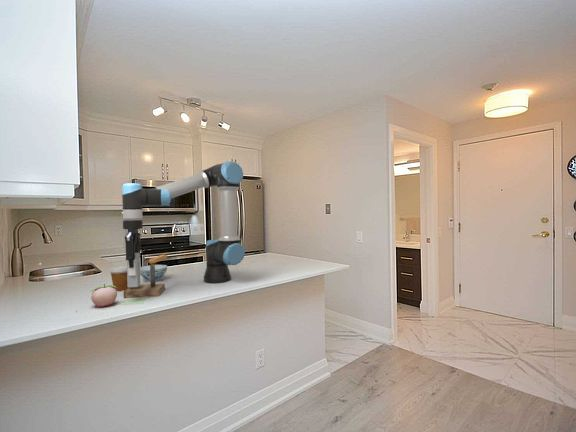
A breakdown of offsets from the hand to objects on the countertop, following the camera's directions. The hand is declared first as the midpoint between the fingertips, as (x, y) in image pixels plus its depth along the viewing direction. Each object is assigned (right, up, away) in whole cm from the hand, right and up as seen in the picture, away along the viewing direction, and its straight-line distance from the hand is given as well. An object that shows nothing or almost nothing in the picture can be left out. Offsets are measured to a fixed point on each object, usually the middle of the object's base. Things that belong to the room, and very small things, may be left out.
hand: (133, 274), depth 131 cm
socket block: (-1, -13, +12) cm, 18 cm away
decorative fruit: (-9, -13, -5) cm, 17 cm away
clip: (+2, +3, +19) cm, 19 cm away
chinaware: (-11, -12, +43) cm, 46 cm away
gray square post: (0, -5, 0) cm, 5 cm away
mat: (0, -13, 0) cm, 13 cm away
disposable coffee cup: (-17, -13, +21) cm, 29 cm away
